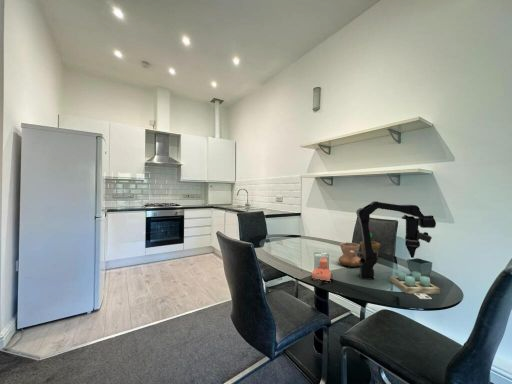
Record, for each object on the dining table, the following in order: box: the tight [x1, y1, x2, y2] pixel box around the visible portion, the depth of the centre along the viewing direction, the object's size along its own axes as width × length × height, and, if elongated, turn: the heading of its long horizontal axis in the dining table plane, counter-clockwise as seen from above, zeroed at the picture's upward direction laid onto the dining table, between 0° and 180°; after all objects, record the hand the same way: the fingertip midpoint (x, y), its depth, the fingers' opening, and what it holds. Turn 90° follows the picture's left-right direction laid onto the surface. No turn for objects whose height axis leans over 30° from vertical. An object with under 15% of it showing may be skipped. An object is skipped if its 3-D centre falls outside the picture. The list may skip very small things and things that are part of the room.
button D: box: [420, 276, 431, 287], centre depth 109 cm, size 4×4×4 cm
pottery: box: [311, 256, 332, 282], centre depth 132 cm, size 18×10×10 cm, turn 156°
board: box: [389, 276, 441, 295], centre depth 113 cm, size 15×15×2 cm
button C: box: [410, 271, 421, 282], centre depth 116 cm, size 4×4×4 cm
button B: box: [405, 275, 415, 287], centre depth 110 cm, size 4×4×4 cm
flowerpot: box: [358, 221, 381, 258], centre depth 169 cm, size 14×14×30 cm
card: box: [413, 293, 433, 300], centre depth 103 cm, size 5×5×1 cm
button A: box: [397, 270, 408, 281], centre depth 117 cm, size 4×4×4 cm
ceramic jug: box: [338, 241, 361, 268], centre depth 151 cm, size 18×14×14 cm
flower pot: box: [406, 257, 433, 277], centre depth 127 cm, size 9×9×9 cm
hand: (412, 255), depth 123 cm, fingers open, 9 cm apart
